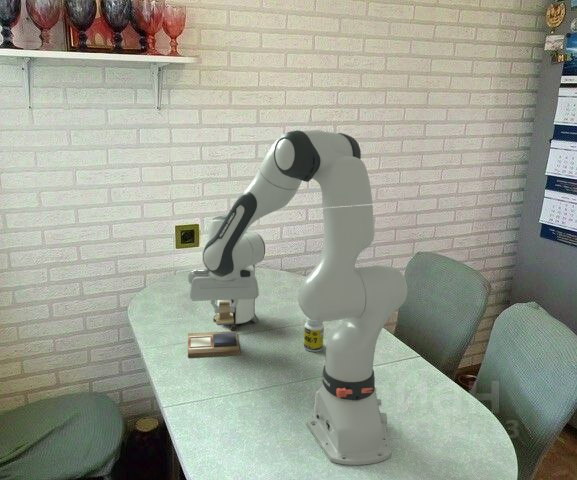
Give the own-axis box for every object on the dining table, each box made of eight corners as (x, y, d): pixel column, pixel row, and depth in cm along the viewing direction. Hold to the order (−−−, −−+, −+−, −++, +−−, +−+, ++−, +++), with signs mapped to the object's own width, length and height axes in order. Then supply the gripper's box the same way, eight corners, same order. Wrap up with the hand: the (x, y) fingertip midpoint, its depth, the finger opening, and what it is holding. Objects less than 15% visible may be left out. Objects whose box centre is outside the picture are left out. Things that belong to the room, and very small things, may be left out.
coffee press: (261, 312, 196) (262, 228, 187) (254, 332, 180) (255, 243, 172) (212, 309, 197) (211, 226, 188) (201, 329, 182) (199, 240, 173)
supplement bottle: (300, 349, 171) (301, 318, 168) (308, 341, 175) (309, 311, 172) (318, 354, 168) (319, 322, 165) (325, 346, 173) (327, 315, 170)
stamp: (233, 325, 168) (233, 306, 166) (216, 325, 167) (216, 307, 165) (232, 317, 173) (232, 299, 171) (215, 318, 172) (215, 300, 170)
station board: (239, 354, 167) (239, 347, 166) (188, 357, 164) (187, 350, 164) (236, 334, 179) (236, 327, 178) (188, 336, 176) (188, 330, 176)
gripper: (188, 273, 160) (189, 318, 165) (259, 271, 164) (259, 315, 168) (188, 266, 166) (189, 309, 170) (257, 264, 170) (256, 306, 174)
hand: (224, 312), depth 169 cm, fingers closed on stamp, 3 cm apart
